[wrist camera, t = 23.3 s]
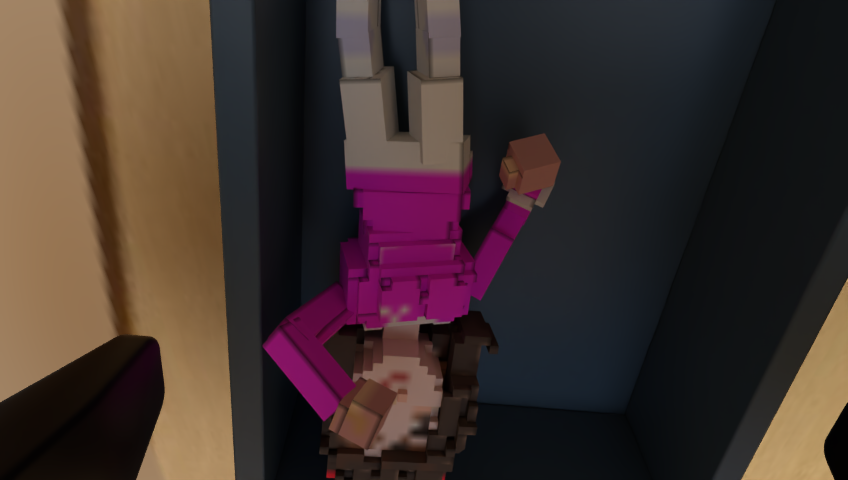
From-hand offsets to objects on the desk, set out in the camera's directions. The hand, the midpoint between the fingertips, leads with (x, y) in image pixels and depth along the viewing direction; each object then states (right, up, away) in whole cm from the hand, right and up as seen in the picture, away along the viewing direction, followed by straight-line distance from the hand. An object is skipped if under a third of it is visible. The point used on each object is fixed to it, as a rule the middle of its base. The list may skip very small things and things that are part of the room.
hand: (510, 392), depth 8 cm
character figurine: (-1, +3, +5) cm, 6 cm away
